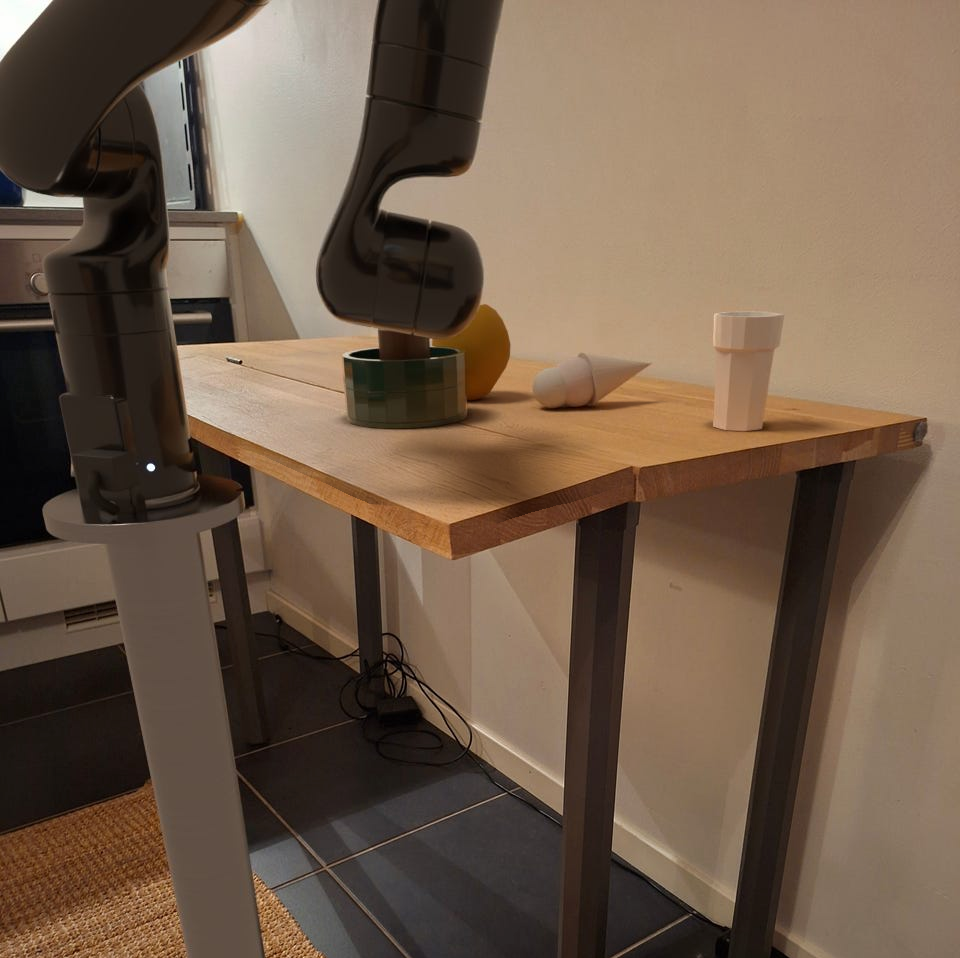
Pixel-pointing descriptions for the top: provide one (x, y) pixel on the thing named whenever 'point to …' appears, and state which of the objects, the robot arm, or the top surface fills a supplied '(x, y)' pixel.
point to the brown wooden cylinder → (402, 346)
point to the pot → (405, 389)
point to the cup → (743, 367)
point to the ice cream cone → (583, 380)
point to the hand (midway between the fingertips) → (401, 259)
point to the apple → (482, 350)
